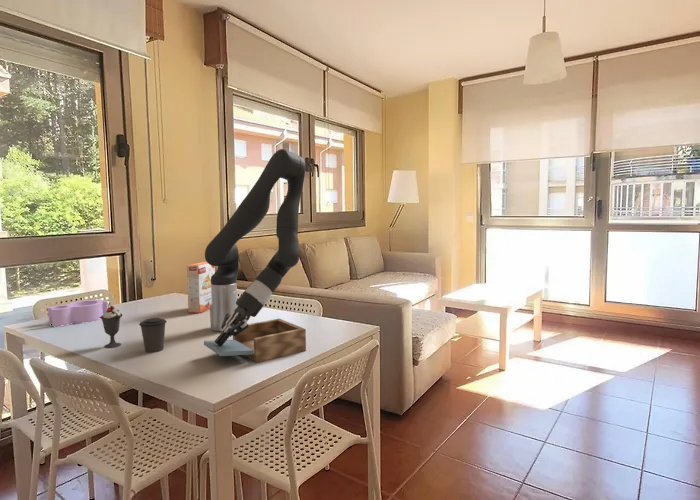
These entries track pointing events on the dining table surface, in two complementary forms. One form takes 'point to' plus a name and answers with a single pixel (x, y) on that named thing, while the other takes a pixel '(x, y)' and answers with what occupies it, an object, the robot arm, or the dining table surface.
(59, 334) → the dining table surface
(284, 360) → the dining table surface
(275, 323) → the open wooden box
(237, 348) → the flat rectangular panel
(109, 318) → the sundae
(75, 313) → the purple double bowl
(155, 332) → the coffee cup
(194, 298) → the cracker box
